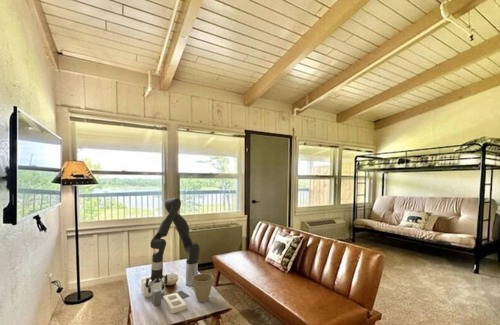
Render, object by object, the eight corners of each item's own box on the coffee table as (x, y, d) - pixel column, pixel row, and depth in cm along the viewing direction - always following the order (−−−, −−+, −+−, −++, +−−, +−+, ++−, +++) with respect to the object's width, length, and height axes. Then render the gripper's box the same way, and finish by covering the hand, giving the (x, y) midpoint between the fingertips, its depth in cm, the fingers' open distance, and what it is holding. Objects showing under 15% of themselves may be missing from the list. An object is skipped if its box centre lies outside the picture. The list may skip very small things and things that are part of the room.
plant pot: (212, 294, 191) (213, 272, 192) (213, 304, 177) (213, 281, 177) (192, 295, 189) (192, 273, 189) (191, 305, 174) (191, 282, 175)
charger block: (158, 301, 180) (159, 288, 180) (160, 304, 176) (161, 290, 176) (152, 303, 177) (152, 289, 177) (153, 305, 173) (154, 292, 174)
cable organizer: (141, 298, 183) (142, 282, 183) (140, 292, 192) (141, 276, 193) (163, 294, 190) (164, 278, 190) (161, 288, 199) (161, 273, 200)
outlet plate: (176, 296, 186) (177, 292, 187) (186, 309, 170) (186, 304, 170) (163, 300, 181) (163, 296, 181) (171, 313, 164) (171, 308, 164)
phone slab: (181, 291, 195) (181, 290, 196) (189, 296, 188) (189, 295, 188) (174, 294, 191) (174, 292, 191) (182, 299, 184) (182, 298, 184)
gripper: (166, 264, 185) (165, 287, 184) (145, 267, 177) (144, 291, 176) (169, 267, 178) (168, 291, 177) (147, 271, 170) (146, 296, 170)
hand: (156, 291), depth 177 cm, fingers open, 8 cm apart
